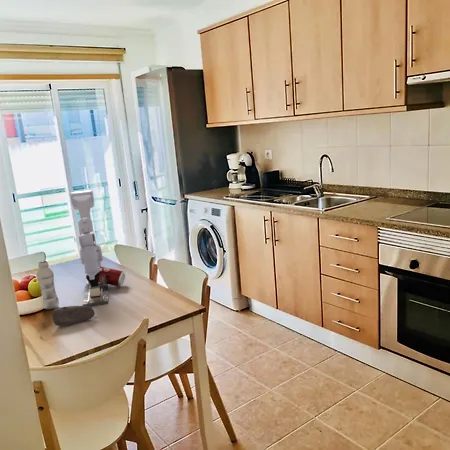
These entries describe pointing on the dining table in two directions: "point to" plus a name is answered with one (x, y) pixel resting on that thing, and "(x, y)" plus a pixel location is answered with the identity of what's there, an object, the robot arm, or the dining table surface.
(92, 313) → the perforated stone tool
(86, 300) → the fader panel
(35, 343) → the dining table surface
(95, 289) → the slider tab
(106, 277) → the soda can
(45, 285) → the plastic bottle
